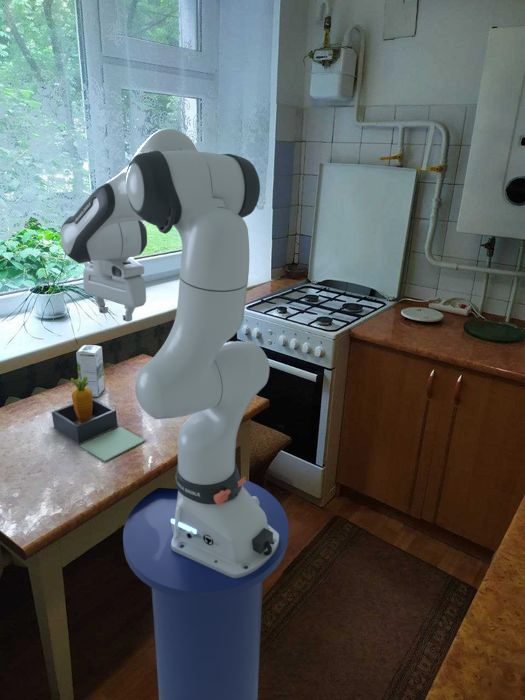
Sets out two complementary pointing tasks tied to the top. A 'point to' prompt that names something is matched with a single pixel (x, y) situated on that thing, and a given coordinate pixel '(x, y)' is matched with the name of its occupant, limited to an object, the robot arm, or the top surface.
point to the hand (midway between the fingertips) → (115, 316)
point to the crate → (88, 429)
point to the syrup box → (91, 368)
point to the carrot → (82, 400)
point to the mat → (112, 443)
